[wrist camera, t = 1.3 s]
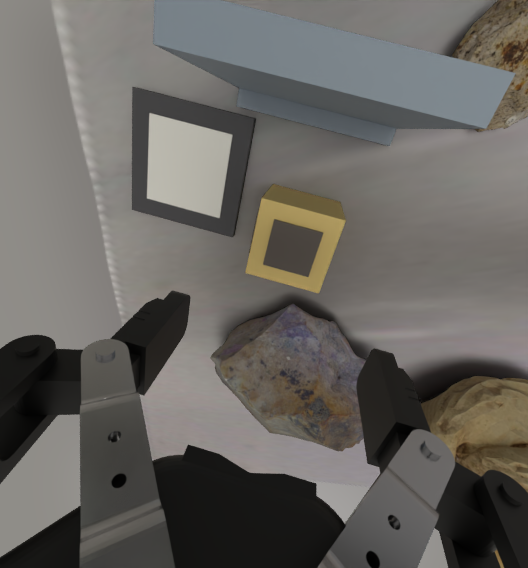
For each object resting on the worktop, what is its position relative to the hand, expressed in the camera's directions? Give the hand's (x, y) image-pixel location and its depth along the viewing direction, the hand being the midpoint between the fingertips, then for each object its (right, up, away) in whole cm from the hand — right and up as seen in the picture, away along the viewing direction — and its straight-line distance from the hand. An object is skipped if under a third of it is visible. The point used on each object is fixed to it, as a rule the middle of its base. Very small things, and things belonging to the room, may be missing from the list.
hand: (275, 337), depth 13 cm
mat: (-7, +13, +13) cm, 20 cm away
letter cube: (+2, +8, +14) cm, 17 cm away
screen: (+4, +16, +9) cm, 19 cm away
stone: (+3, -5, +21) cm, 22 cm away
